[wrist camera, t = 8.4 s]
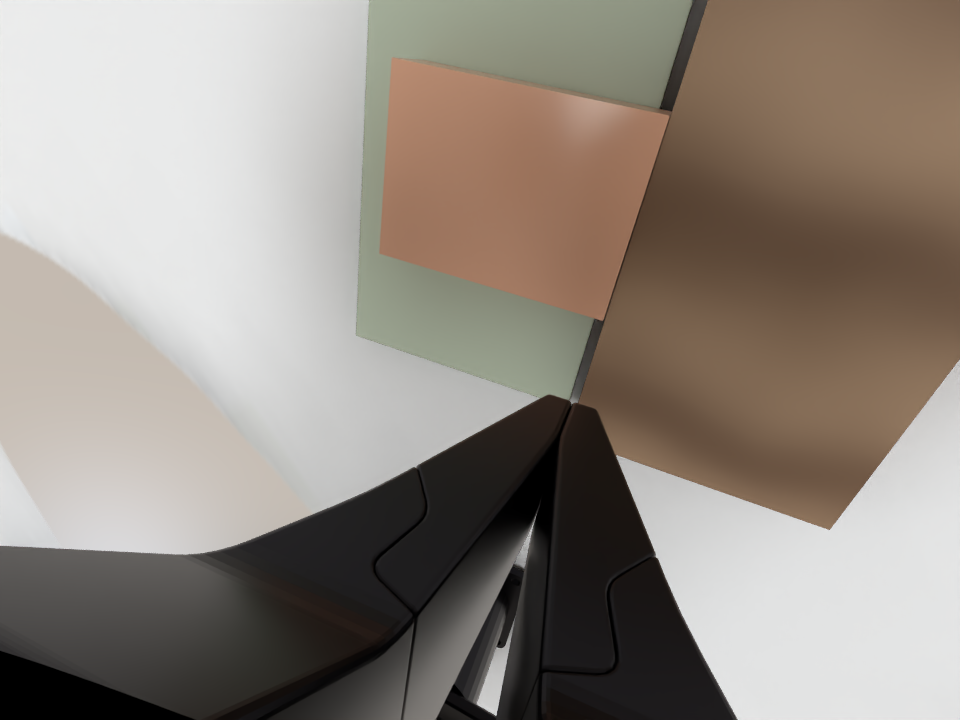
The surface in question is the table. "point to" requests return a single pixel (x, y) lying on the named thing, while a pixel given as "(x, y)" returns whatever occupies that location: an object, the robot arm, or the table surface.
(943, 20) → the walnut stand
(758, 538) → the table surface
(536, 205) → the terracotta tile
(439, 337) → the green mat
